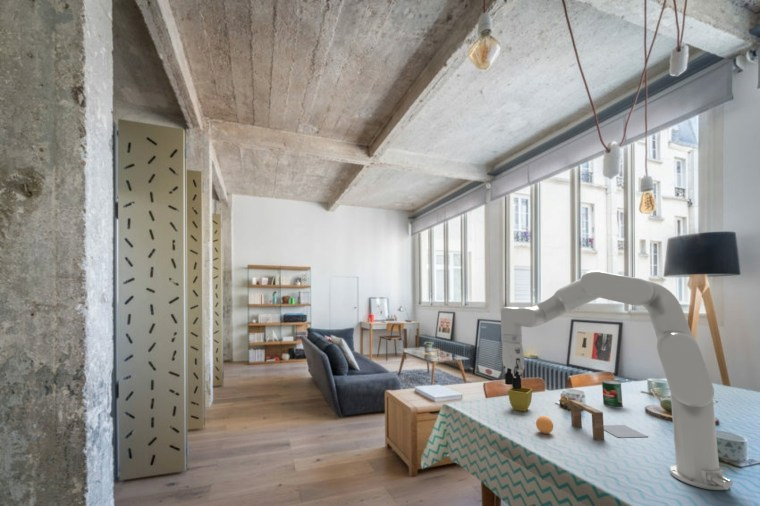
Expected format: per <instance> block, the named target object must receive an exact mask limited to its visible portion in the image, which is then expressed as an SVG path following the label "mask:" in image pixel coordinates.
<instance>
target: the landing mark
mask: <svg viewBox="0 0 760 506" xmlns="http://www.w3.org/2000/svg"><path fill="white" fill-rule="evenodd" d="M604 432H606V433H609V434H610V435H612V436H614V437H616V439H617V438H618V439H625V438H630V439H631V438H633V439H634V438H649V436H648V435H646V434H644V433H642V432H639V431H638V430H636V429H634V428H632V427H629V426H628V425H626V424H616V425H615V424H614V425H613V424H609V425H608V424H607V425H605V424H604Z"/></svg>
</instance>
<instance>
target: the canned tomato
mask: <svg viewBox="0 0 760 506" xmlns="http://www.w3.org/2000/svg"><path fill="white" fill-rule="evenodd" d="M601 387H602V388H601V389H602V403H603V405H604V406H606V407H609V406H610V408H614V407H622V408H623V394H622V391H623V390H622V382H620V381H617V380H611V379H602V380H601Z"/></svg>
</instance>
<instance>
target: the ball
mask: <svg viewBox="0 0 760 506" xmlns="http://www.w3.org/2000/svg"><path fill="white" fill-rule="evenodd" d="M535 425H536V428H537V430H538V431H539V432H541V433H542V434H544V435H545V434H550V433H551V432H553V430H554V423H553V421H552V420H551V418H549V417H547V416H545V415H543V416H539V417H538V418H537V419H536V422H535Z"/></svg>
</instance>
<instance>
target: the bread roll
mask: <svg viewBox="0 0 760 506" xmlns="http://www.w3.org/2000/svg"><path fill="white" fill-rule="evenodd" d="M558 401H559V406H560V407H561V408H563V409H565V408H566V410H570V411H571V402H570V400H567V398H566V397H565V396H564V395H563V396H561V397H560V399H559V400H558ZM581 411H583V409H581Z"/></svg>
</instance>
